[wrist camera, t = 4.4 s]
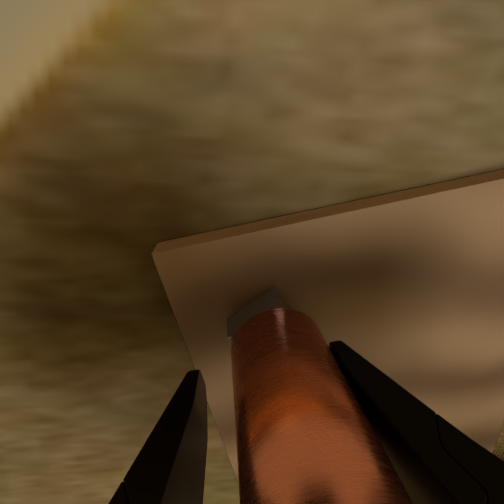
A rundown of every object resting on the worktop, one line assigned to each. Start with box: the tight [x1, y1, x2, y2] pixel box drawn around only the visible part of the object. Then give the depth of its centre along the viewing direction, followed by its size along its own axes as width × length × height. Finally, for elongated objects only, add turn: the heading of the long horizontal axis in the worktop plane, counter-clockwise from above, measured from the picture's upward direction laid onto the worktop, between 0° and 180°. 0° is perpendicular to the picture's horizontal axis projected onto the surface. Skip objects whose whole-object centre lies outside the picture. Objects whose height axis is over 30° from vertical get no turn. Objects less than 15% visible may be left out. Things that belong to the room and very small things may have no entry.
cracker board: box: [151, 169, 504, 483], centre depth 14 cm, size 22×18×4 cm
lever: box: [227, 287, 413, 504], centre depth 10 cm, size 15×4×8 cm, turn 34°
